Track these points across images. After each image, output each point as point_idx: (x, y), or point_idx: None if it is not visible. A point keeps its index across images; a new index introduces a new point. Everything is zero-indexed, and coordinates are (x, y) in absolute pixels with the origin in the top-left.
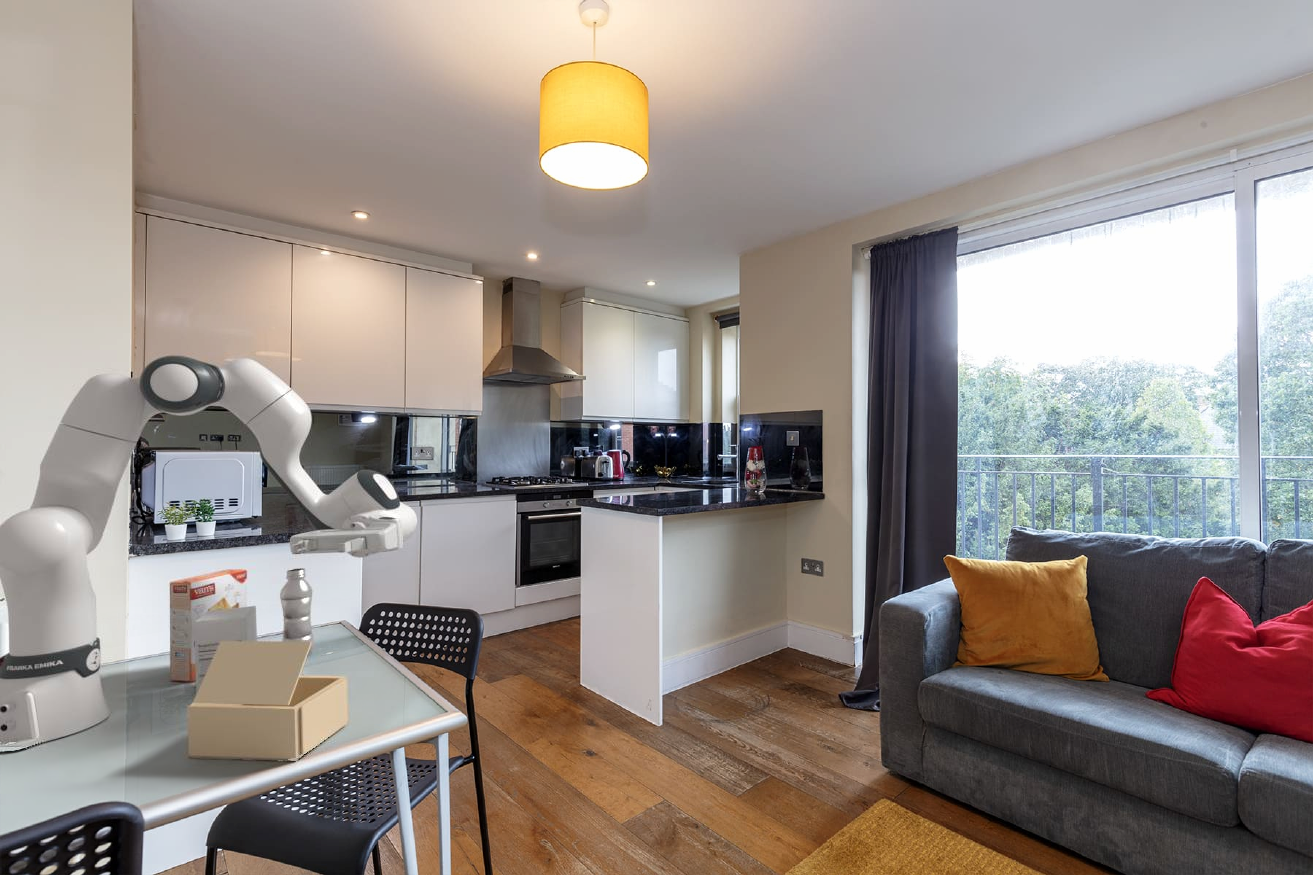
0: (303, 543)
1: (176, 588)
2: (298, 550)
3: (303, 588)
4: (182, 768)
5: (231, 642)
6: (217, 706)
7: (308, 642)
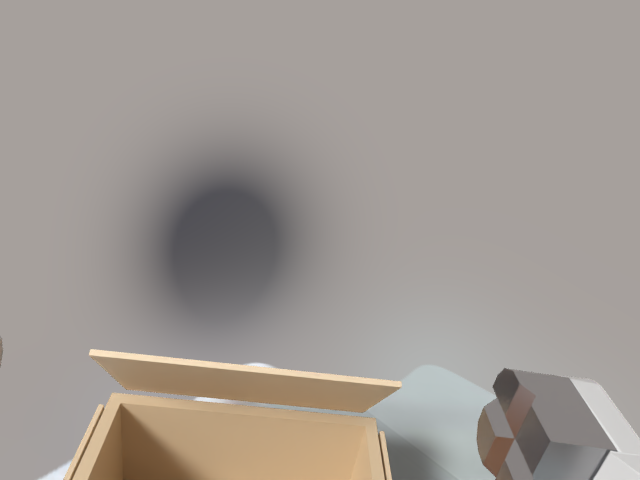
0: (552, 432)
1: None
2: (488, 404)
3: None
4: None
5: (362, 378)
6: (307, 414)
7: (99, 351)
